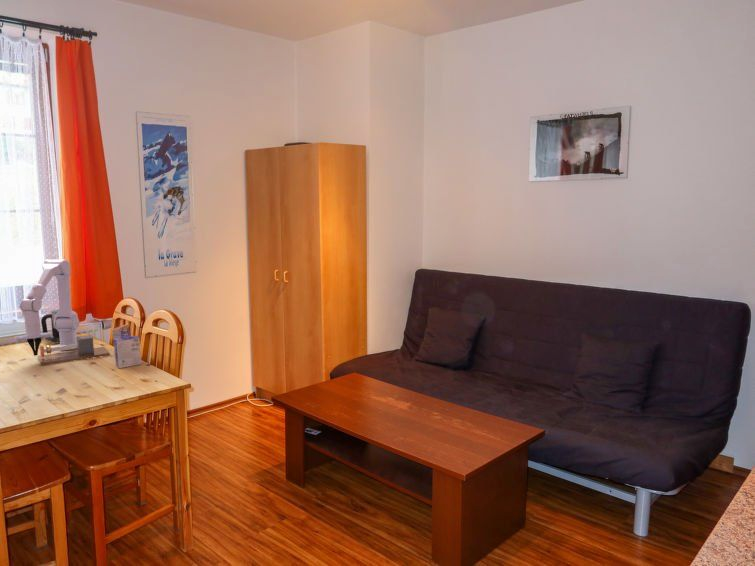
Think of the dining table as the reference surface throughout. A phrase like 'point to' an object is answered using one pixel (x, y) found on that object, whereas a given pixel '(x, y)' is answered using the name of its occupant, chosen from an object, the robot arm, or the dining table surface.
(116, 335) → the candy box
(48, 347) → the shaft
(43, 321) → the milk frother
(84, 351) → the bearing base
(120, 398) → the dining table surface
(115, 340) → the ink cartridge box
